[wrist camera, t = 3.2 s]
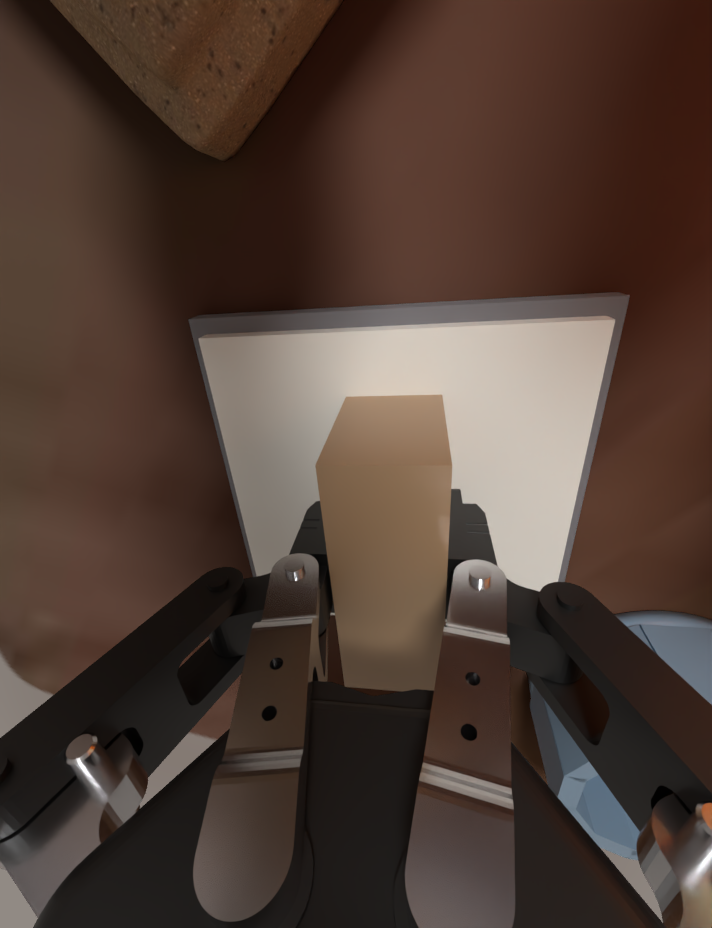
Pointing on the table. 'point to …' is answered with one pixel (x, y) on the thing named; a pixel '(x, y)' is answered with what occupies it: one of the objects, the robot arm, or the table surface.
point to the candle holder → (203, 58)
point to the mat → (428, 314)
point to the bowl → (567, 769)
